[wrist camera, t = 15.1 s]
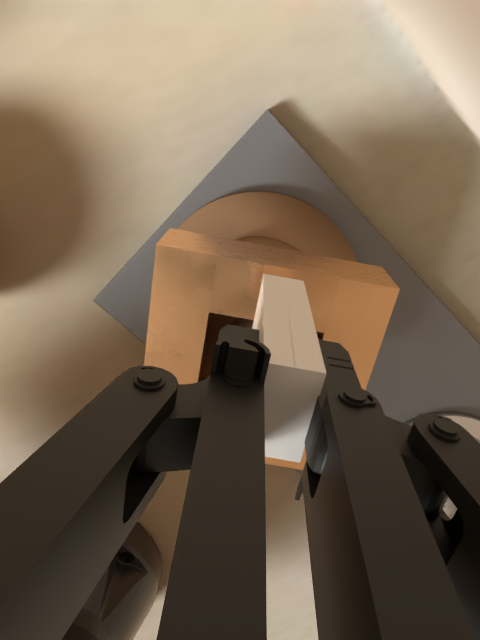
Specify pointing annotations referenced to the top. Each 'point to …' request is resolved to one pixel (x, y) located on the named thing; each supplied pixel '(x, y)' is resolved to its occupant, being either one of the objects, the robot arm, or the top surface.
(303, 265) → the wooden square ring
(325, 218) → the walnut hub
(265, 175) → the rubber mat
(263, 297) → the robot arm
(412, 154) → the top surface
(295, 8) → the top surface
